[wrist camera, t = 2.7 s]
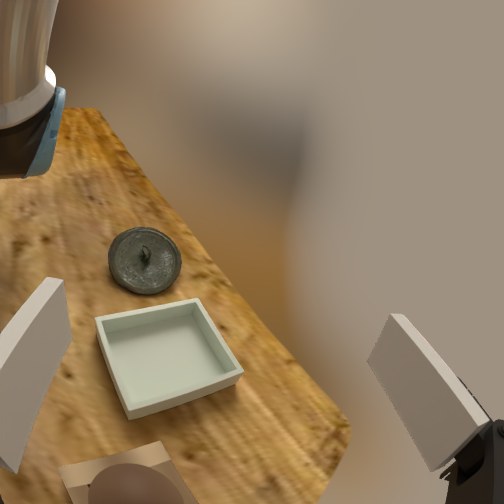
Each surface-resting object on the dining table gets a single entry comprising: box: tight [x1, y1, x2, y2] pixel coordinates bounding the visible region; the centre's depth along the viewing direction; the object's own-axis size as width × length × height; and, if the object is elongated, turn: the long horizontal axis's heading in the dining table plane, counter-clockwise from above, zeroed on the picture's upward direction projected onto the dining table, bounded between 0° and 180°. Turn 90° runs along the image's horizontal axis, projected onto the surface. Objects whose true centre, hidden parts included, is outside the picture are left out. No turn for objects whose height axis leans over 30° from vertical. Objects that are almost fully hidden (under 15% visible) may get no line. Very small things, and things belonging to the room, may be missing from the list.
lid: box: [108, 227, 182, 295], centre depth 39 cm, size 11×10×5 cm
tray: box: [95, 298, 244, 421], centre depth 30 cm, size 13×11×3 cm
